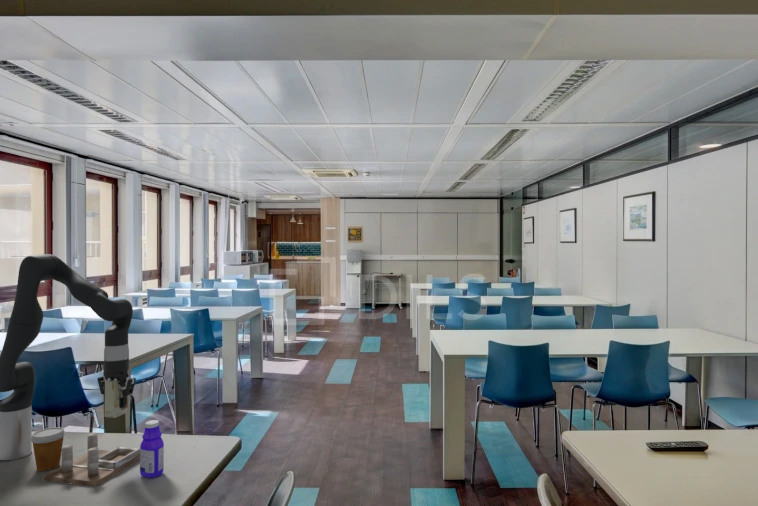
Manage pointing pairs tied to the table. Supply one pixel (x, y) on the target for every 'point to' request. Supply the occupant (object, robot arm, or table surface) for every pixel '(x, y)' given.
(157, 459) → the bottle
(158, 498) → the table surface
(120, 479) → the table surface
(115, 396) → the skincare box
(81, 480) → the pin board
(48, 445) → the disposable coffee cup
